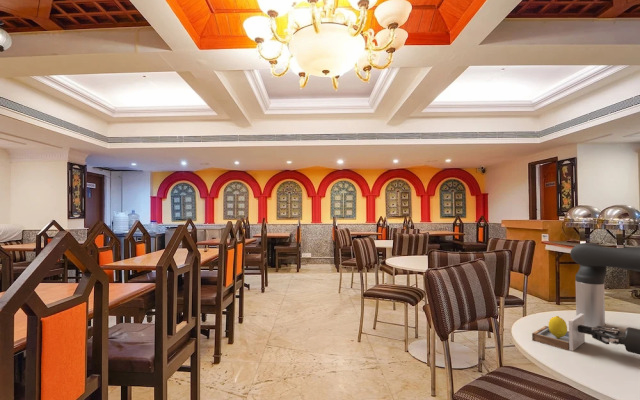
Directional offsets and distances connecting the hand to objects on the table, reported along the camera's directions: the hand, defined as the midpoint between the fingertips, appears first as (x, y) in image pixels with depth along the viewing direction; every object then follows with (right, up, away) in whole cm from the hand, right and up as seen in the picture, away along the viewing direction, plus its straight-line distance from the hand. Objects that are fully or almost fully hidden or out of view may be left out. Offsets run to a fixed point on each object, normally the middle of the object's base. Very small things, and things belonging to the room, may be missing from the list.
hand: (578, 328), depth 117 cm
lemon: (-4, -6, +5) cm, 8 cm away
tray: (-4, -7, +5) cm, 9 cm away
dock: (-4, -7, +5) cm, 9 cm away
